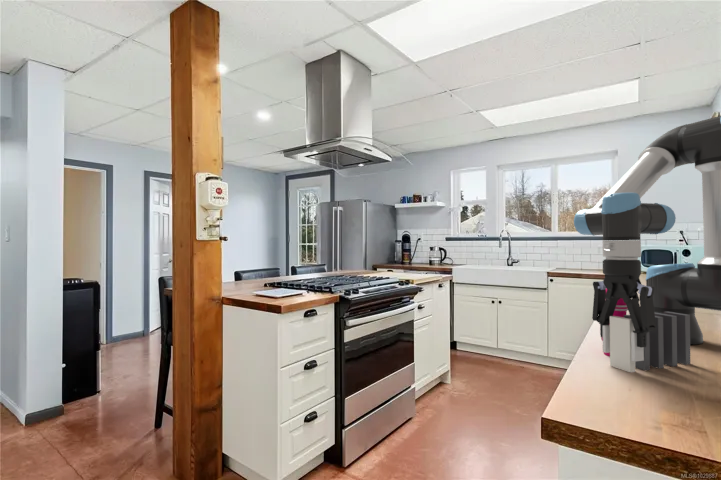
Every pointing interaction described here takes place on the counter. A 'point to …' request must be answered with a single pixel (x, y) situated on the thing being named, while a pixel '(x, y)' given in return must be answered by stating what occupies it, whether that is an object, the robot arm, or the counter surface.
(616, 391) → the counter surface
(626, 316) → the domino
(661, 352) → the domino
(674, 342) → the domino
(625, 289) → the robot arm
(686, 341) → the domino
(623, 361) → the white domino
